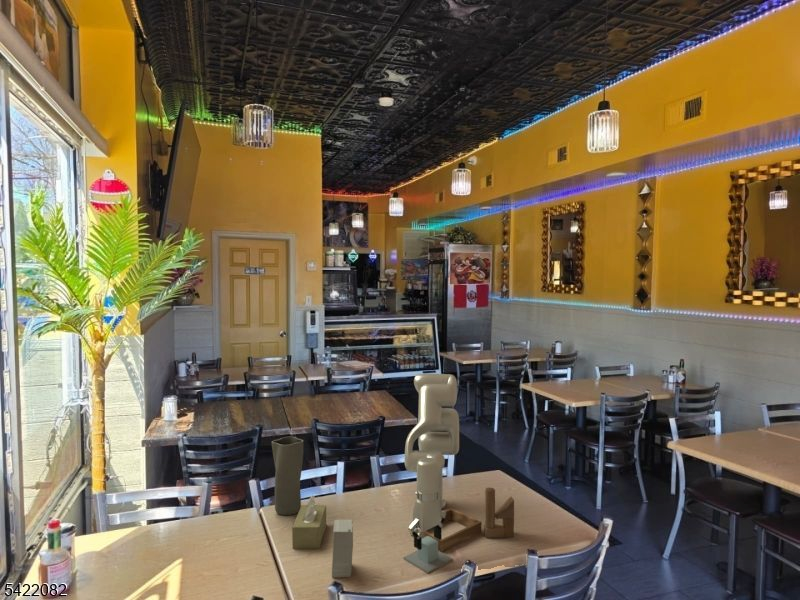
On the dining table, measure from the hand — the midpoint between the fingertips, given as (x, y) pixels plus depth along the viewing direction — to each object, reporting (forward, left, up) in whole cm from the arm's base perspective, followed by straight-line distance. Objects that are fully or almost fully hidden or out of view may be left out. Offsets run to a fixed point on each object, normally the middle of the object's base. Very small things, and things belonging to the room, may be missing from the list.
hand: (427, 542), depth 177 cm
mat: (0, 0, -6) cm, 6 cm away
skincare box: (-14, -26, -6) cm, 30 cm away
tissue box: (-41, -22, -6) cm, 47 cm away
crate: (-8, +18, -6) cm, 20 cm away
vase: (-66, -17, -6) cm, 68 cm away
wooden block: (+6, +32, -6) cm, 33 cm away
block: (0, 0, -5) cm, 5 cm away
